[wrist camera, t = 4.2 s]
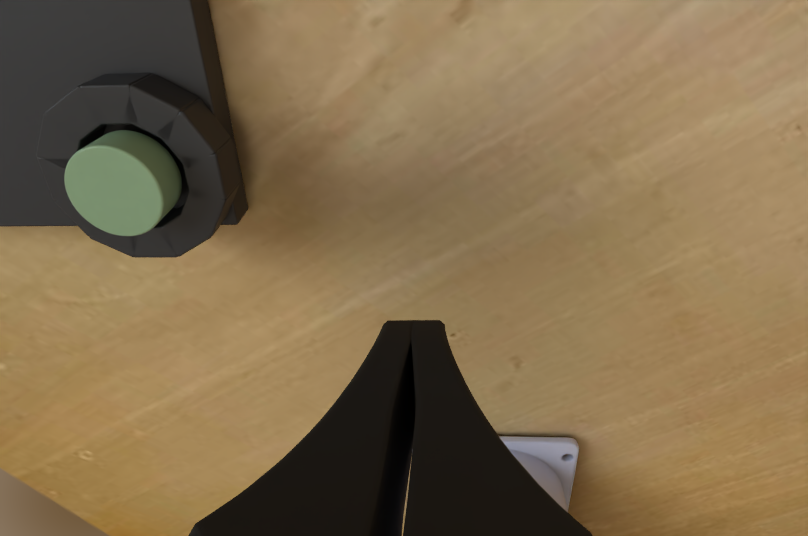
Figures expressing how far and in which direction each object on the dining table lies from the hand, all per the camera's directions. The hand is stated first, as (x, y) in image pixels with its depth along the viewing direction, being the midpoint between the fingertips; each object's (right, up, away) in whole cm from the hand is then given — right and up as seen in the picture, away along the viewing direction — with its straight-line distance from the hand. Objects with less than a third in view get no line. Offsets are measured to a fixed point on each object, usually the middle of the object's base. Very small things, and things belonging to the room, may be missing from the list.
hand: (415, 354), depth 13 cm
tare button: (-9, +5, +5) cm, 12 cm away
